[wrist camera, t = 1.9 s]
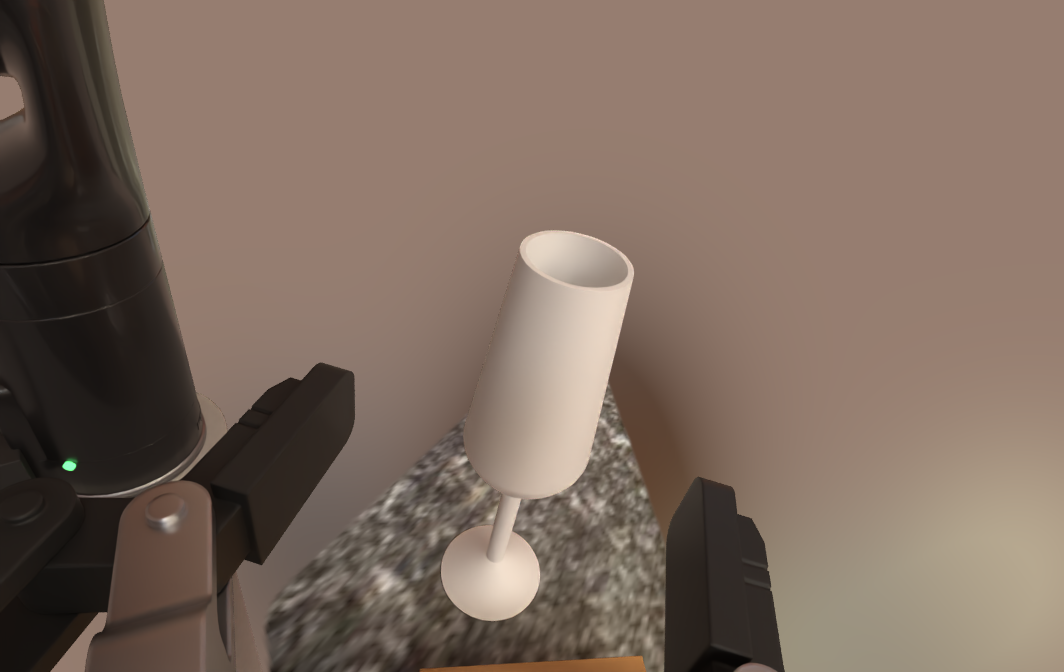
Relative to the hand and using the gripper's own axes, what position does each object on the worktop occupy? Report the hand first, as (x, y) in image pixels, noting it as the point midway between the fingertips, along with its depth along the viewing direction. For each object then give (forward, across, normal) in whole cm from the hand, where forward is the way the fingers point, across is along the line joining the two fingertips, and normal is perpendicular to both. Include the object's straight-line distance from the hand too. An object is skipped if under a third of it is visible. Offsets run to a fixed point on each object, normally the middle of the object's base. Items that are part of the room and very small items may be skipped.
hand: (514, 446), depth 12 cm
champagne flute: (+11, 0, +25) cm, 27 cm away
